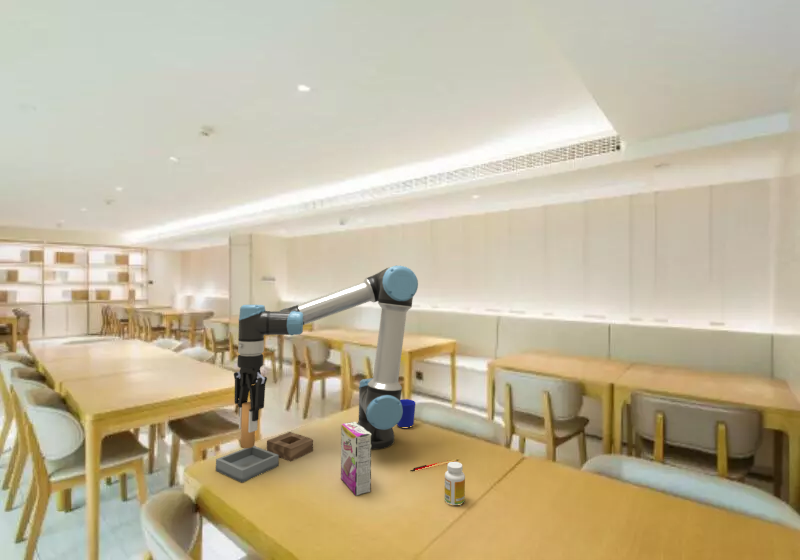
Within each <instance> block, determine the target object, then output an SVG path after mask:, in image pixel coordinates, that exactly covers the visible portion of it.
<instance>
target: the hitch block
mask: <svg viewBox="0 0 800 560" xmlns="http://www.w3.org/2000/svg"><path fill="white" fill-rule="evenodd" d="M266 450H267V451H269V452H272V453H275V454H277V455H279V458H281V459H283V460H285V461H288V462H293V461H295V460H297V459H299V458H301V457H303V456H306V455H308V454H310V453H312V452H313V451H314V438H310V437H307V436H305V435H301V434H298V433H294V432H292V431H289V432H285V433H284V434H280V435H278V436H275V437H272V438H270V439H268V440H266Z"/></svg>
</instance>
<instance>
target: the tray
mask: <svg viewBox="0 0 800 560" xmlns="http://www.w3.org/2000/svg"><path fill="white" fill-rule="evenodd" d="M279 458H280V457H279V455H277V454H275V453H272V452H269V451H267V449H264V448H261V447H258V446H256V445H254V446H253V447H251V448H241V449H239V450H236V451H234V452H231V453H229V454H228V453H227V454H226V455H224V456H221V457H218V458H216V459H215V472H218V473H219V474H221V475H225V476H226V477H228V478H231V479H233V480H235V481H237V482H239V483H241V484H243V483H246V482H247V481H250V480H251V478H252V479H254V478H256V477H258V476H260V475H262V474H264V472H265V473H267V472H269V471H272V470H274V469H276V468H277V466H278V467H279V460H280V459H279ZM266 471H267V472H266ZM261 473H262V474H261ZM259 474H260V475H259ZM257 475H258V476H257ZM255 476H256V477H255ZM253 477H254V478H253Z"/></svg>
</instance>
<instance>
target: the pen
mask: <svg viewBox="0 0 800 560" xmlns="http://www.w3.org/2000/svg"><path fill="white" fill-rule="evenodd" d="M437 463H438V462H436V463H431V464H427V465H426V464H425V465H420V466H417V467H414V468H413V469H410V470H409V472H410V471H412V472H416V471H415V470H418V469H422V468H425V467H429V466H432V465H435V464H437ZM422 470H423V469H422ZM418 471H419V470H418Z"/></svg>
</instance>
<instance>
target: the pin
mask: <svg viewBox="0 0 800 560" xmlns="http://www.w3.org/2000/svg"><path fill="white" fill-rule="evenodd" d="M250 409H251V404H250V401H247V402H245V403H243V404H242V423H241V429H240V431H241V432H240V448H241V449H244V448H251V447H253V446H255V444H256V443H255V440H256V437H255V436H256V431H253V432H250V433H249V432H248V426H249V410H250Z"/></svg>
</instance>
